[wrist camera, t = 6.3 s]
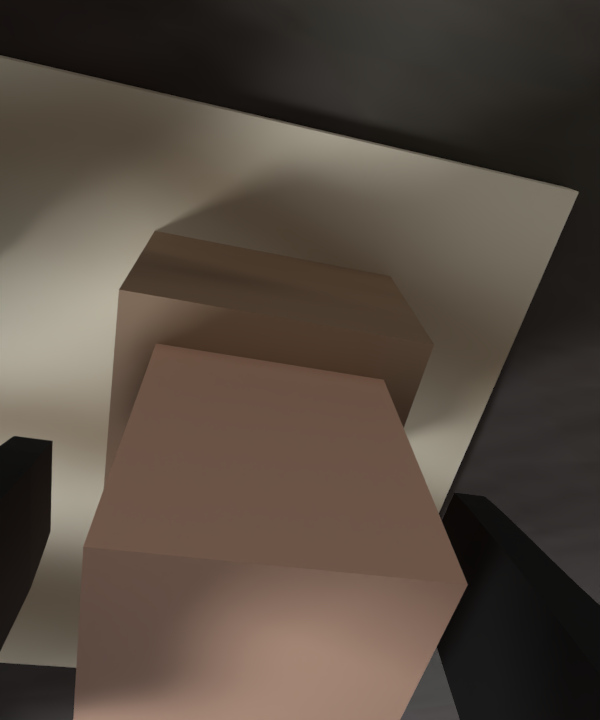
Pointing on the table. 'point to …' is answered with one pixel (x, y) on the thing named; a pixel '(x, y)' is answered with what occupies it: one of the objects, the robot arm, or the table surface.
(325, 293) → the walnut block
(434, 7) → the table surface
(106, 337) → the birch board
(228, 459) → the clay block
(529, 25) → the table surface
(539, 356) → the table surface
